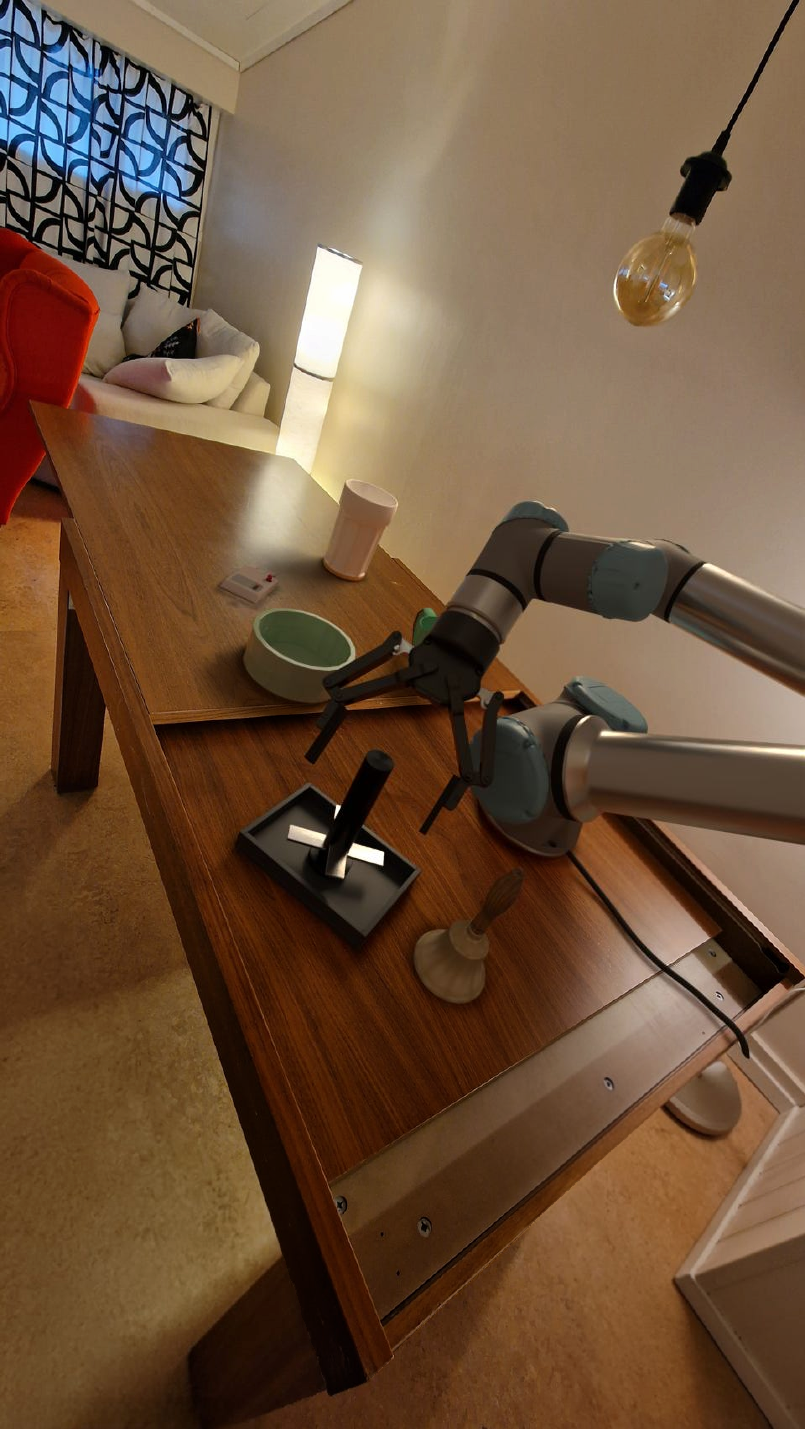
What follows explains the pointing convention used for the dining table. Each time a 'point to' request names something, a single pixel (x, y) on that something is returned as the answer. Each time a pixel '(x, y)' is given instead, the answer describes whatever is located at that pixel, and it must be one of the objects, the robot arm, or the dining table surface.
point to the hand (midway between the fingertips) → (364, 796)
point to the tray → (333, 901)
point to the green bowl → (295, 653)
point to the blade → (348, 823)
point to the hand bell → (464, 946)
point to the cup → (358, 528)
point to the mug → (422, 625)
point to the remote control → (250, 583)
